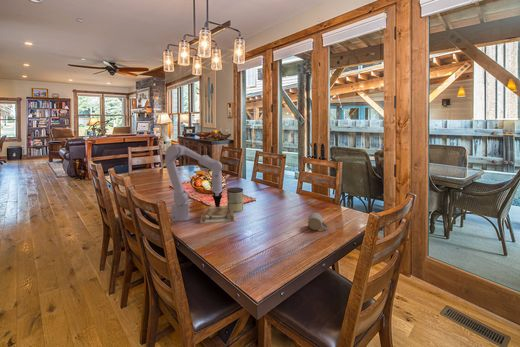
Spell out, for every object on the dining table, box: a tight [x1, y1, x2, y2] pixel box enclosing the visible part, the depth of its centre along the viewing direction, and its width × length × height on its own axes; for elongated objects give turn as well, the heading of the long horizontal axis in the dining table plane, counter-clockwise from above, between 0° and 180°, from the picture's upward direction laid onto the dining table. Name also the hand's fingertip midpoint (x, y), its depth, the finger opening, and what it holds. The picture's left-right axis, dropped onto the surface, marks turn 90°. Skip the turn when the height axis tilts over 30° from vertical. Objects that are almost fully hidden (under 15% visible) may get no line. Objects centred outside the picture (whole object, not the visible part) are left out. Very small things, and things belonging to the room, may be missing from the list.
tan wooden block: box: [206, 205, 229, 216], centre depth 172 cm, size 12×4×5 cm, turn 97°
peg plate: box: [200, 210, 237, 224], centre depth 172 cm, size 20×12×3 cm, turn 98°
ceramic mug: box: [307, 212, 329, 231], centre depth 156 cm, size 11×8×8 cm
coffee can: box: [226, 186, 244, 214], centre depth 187 cm, size 10×10×14 cm
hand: (217, 204), depth 171 cm, fingers open, 7 cm apart
